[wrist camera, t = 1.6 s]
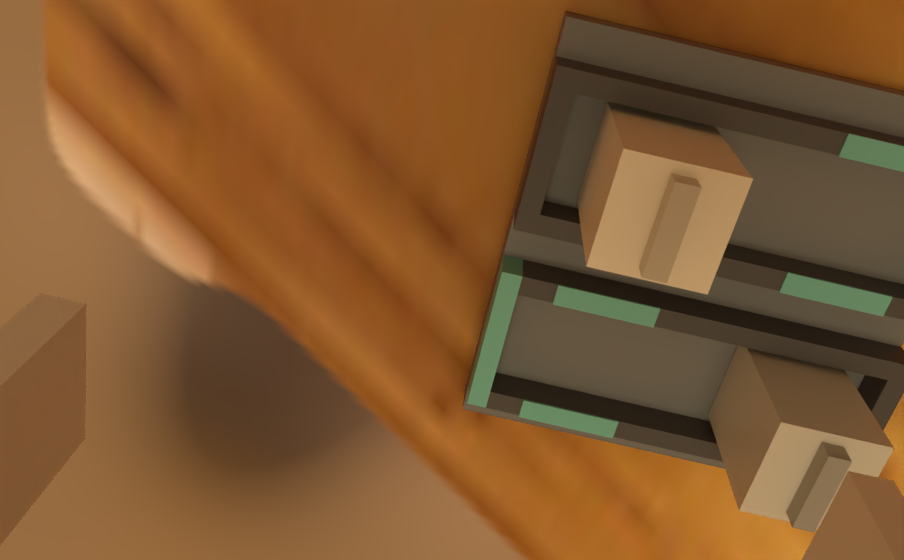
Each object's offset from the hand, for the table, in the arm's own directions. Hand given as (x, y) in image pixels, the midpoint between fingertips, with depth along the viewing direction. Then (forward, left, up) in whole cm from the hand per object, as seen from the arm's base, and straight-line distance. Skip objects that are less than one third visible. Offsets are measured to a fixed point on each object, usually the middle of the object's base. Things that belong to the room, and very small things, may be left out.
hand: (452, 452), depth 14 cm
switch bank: (+4, +10, -21) cm, 23 cm away
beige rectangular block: (0, +6, -19) cm, 20 cm away
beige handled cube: (+8, +14, -19) cm, 25 cm away
